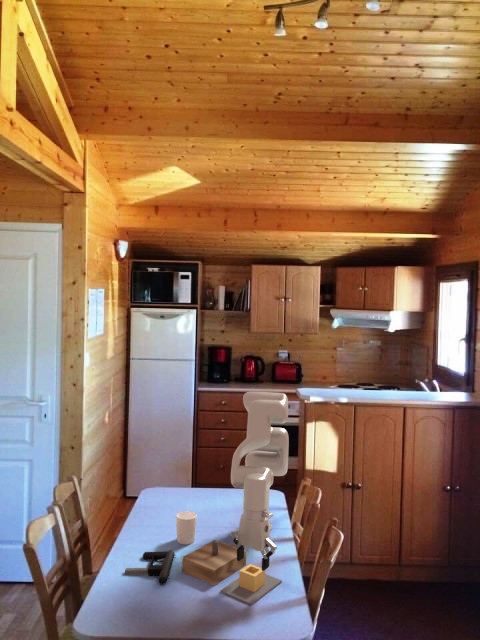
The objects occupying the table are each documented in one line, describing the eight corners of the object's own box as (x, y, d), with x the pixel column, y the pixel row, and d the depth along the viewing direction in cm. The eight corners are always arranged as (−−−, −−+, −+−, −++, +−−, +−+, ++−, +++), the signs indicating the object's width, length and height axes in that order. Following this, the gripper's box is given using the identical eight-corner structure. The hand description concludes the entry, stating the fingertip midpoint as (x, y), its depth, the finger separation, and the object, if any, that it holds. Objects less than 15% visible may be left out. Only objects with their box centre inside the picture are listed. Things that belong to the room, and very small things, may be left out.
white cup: (192, 546, 203) (193, 520, 203) (172, 543, 204) (173, 517, 204) (198, 537, 211) (199, 512, 210) (179, 535, 212) (180, 510, 212)
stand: (214, 553, 198) (215, 527, 198) (245, 565, 190) (246, 538, 190) (181, 571, 183) (182, 544, 183) (214, 585, 175) (215, 556, 175)
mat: (252, 570, 186) (252, 569, 186) (281, 582, 179) (282, 580, 179) (220, 592, 171) (220, 590, 171) (251, 605, 164) (251, 603, 164)
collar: (249, 578, 179) (249, 563, 179) (264, 584, 176) (265, 569, 176) (238, 585, 174) (239, 570, 174) (254, 592, 171) (254, 576, 171)
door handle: (120, 576, 174) (170, 576, 174) (133, 549, 194) (178, 548, 194) (121, 587, 175) (170, 586, 174) (134, 558, 195) (178, 557, 194)
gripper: (283, 516, 173) (281, 568, 174) (239, 502, 183) (237, 551, 184) (270, 524, 167) (268, 577, 167) (226, 509, 177) (224, 560, 178)
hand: (252, 564), depth 176 cm, fingers open, 9 cm apart
